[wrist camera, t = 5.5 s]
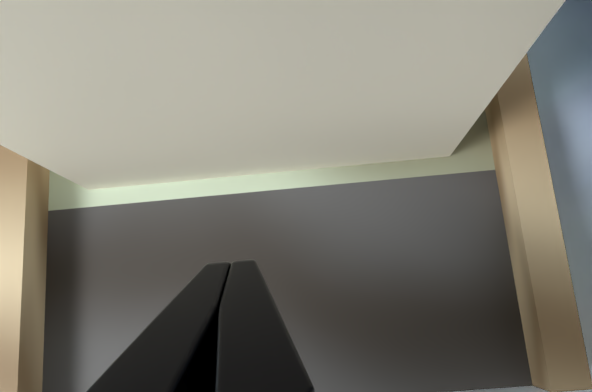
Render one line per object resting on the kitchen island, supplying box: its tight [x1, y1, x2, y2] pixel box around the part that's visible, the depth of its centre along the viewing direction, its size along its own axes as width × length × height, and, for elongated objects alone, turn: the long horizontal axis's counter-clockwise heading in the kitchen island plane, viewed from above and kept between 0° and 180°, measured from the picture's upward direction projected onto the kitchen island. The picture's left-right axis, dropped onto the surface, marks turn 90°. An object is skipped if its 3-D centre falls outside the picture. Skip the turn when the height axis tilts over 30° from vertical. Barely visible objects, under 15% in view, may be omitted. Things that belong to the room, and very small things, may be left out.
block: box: [0, 0, 566, 190], centre depth 11 cm, size 4×11×10 cm, turn 94°
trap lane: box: [0, 53, 592, 392], centre depth 15 cm, size 14×16×1 cm
